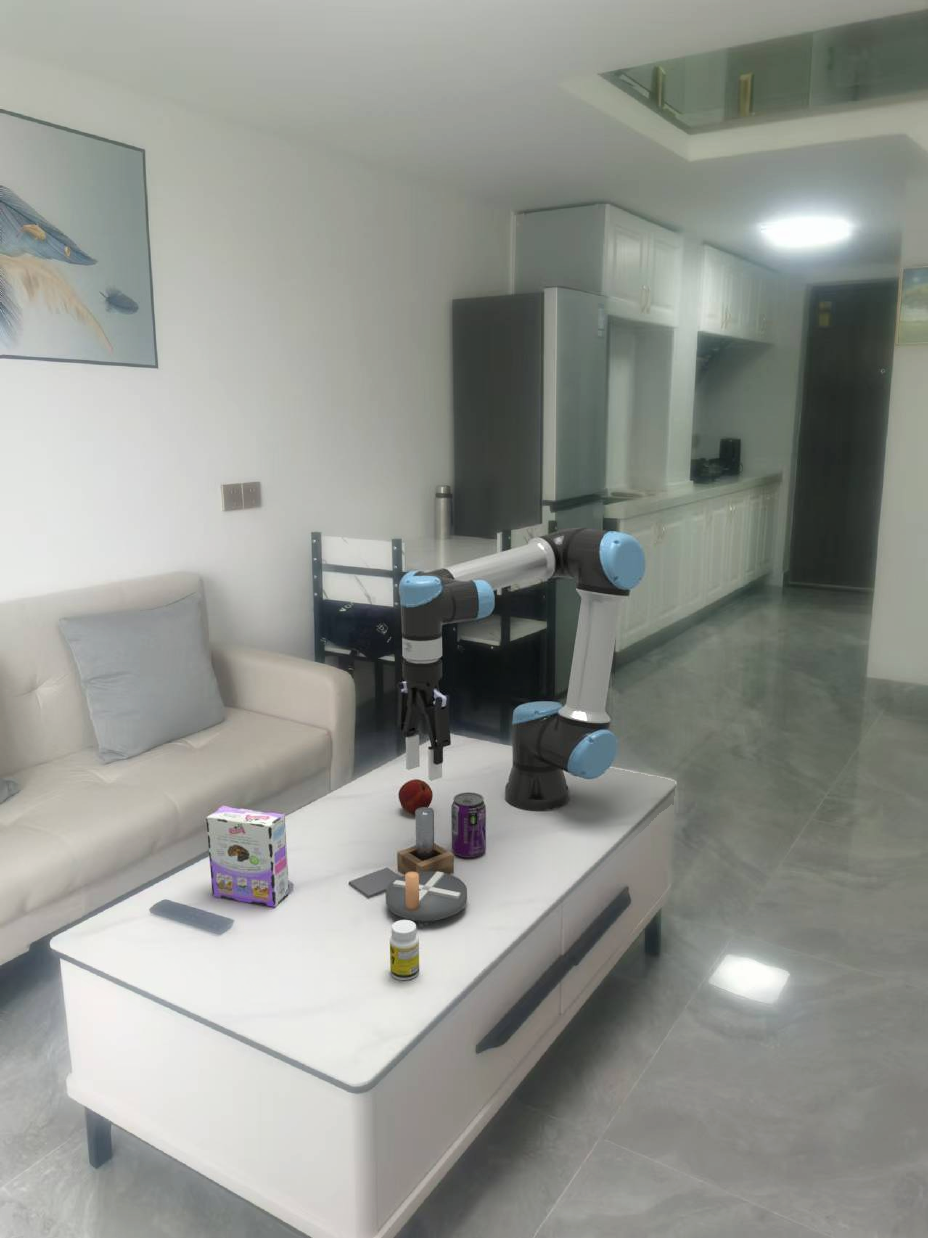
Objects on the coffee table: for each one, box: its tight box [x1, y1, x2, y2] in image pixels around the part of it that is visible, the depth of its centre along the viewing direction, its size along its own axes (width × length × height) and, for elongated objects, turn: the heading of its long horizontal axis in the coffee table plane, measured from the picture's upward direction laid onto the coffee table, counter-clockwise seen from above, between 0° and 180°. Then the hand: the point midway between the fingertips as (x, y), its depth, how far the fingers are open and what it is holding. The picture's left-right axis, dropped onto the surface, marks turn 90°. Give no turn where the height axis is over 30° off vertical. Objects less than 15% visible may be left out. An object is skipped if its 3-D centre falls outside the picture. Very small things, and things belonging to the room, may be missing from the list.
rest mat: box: [348, 867, 401, 899], centre depth 179 cm, size 9×7×1 cm
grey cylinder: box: [414, 807, 435, 861], centre depth 183 cm, size 4×4×13 cm
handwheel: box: [385, 871, 468, 921], centre depth 170 cm, size 15×15×8 cm
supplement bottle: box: [389, 919, 420, 981], centre depth 150 cm, size 5×5×8 cm
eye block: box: [396, 842, 455, 875], centre depth 184 cm, size 8×8×4 cm
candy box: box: [205, 805, 290, 908], centre depth 174 cm, size 14×6×16 cm, turn 71°
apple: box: [397, 778, 434, 815], centre depth 211 cm, size 7×8×8 cm
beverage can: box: [450, 791, 487, 859], centre depth 191 cm, size 7×7×12 cm
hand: (424, 772), depth 180 cm, fingers open, 7 cm apart
